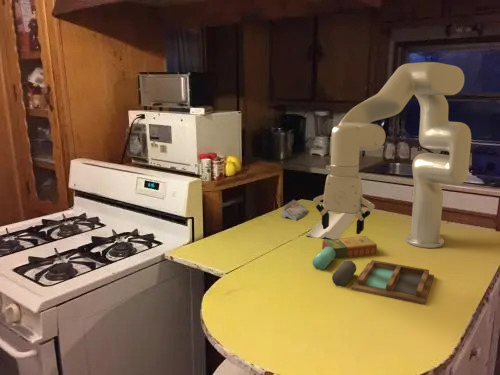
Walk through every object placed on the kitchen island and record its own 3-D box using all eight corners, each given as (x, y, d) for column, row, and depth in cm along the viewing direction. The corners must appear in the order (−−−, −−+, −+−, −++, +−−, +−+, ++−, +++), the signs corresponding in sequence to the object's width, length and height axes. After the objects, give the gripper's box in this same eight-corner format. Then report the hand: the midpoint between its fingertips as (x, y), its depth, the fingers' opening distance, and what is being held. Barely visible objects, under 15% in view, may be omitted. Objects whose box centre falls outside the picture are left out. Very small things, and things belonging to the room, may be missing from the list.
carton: (376, 255, 144) (377, 243, 143) (330, 260, 141) (331, 248, 140) (365, 246, 152) (366, 235, 151) (321, 250, 149) (322, 239, 148)
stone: (301, 216, 180) (279, 206, 183) (297, 226, 181) (276, 216, 184) (312, 205, 195) (292, 196, 198) (309, 214, 196) (289, 205, 199)
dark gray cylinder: (339, 268, 131) (345, 257, 129) (352, 277, 129) (358, 265, 128) (329, 280, 123) (336, 268, 122) (343, 289, 122) (350, 277, 120)
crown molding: (328, 215, 189) (328, 207, 188) (356, 218, 184) (356, 210, 183) (305, 238, 162) (305, 228, 161) (337, 242, 157) (337, 233, 156)
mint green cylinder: (322, 258, 142) (322, 245, 141) (335, 260, 140) (335, 247, 139) (312, 268, 134) (312, 255, 133) (326, 271, 132) (326, 257, 131)
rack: (368, 265, 135) (368, 258, 135) (433, 277, 126) (434, 269, 126) (351, 289, 120) (351, 281, 119) (424, 304, 111) (425, 296, 110)
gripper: (309, 170, 120) (308, 229, 124) (372, 176, 112) (369, 239, 116) (319, 166, 126) (317, 222, 130) (379, 171, 118) (376, 231, 122)
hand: (342, 230), depth 123 cm, fingers open, 9 cm apart
